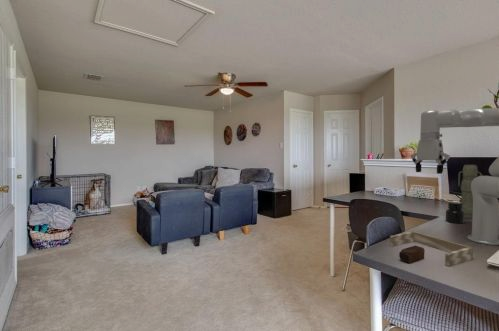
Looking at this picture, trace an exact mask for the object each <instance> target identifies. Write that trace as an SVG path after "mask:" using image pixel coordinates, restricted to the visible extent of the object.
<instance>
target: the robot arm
mask: <svg viewBox="0 0 499 331" xmlns="http://www.w3.org/2000/svg"><path fill="white" fill-rule="evenodd" d="M472 127H473V128H475V127H476V128H478V127H479V128H480V127H499V107H492V108H491V107H489V108H487V107H485V108H483V107H482V108H473V109H471V108H470V109H467V110H462V111H461V110H460V111H459V110H456V109H447V110H445V109H444V110H426V111H423V112H421V115H420V134H419V135H420V139H419V140H418V143H417V148H416V152H414V153H412V154H411V155H410V158H411V160H412V162H413V164H414V165H415V172H416V173H422V164H421V163H422V162H423V161H425V162H428V161H429V162H430V161H431V162H433V161H435V162H436V163H437V165H436V174H437V175H438V174H439V175H441V174H443V172H444V165H445V164H446V163H447V162H448V161H449V159H450V158H451V155H449V154H448V153H445V152H444V146H443V140H442V139H441V138H442V137H443V134H442V133H440V131H441V129H442V128H443V129H444V128H472ZM488 173H489V174H490V175H482V176H480V175H478V177H476V178H475V179H473V181H472V183H471V190H472V195H473V215H472V219H471V220H472V221H471V223H472V224H471V234H469V235H467V239H468V240H469V241H472V242H475V243H479V244H484V245H491V246H499V200H498V199H499V156H497V158H496V159H495V160H494V161H493V162H492V163H491V165H489V168H488Z"/></svg>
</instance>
